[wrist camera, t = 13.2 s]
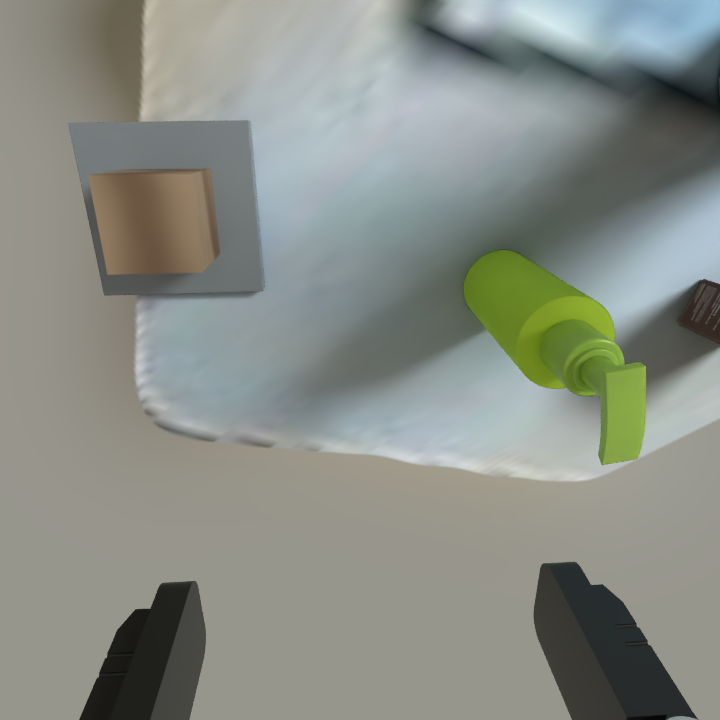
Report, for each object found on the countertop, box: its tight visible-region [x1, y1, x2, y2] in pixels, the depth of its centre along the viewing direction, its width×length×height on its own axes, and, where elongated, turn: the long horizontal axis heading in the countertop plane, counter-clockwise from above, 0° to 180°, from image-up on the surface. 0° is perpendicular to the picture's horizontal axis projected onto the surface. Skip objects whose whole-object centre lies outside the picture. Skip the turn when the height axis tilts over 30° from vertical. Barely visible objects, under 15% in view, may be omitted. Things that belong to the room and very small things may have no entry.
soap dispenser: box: [464, 250, 646, 465], centre depth 34 cm, size 6×7×20 cm
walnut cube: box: [88, 168, 220, 275], centre depth 35 cm, size 6×6×6 cm
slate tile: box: [69, 121, 265, 295], centre depth 39 cm, size 12×12×1 cm
